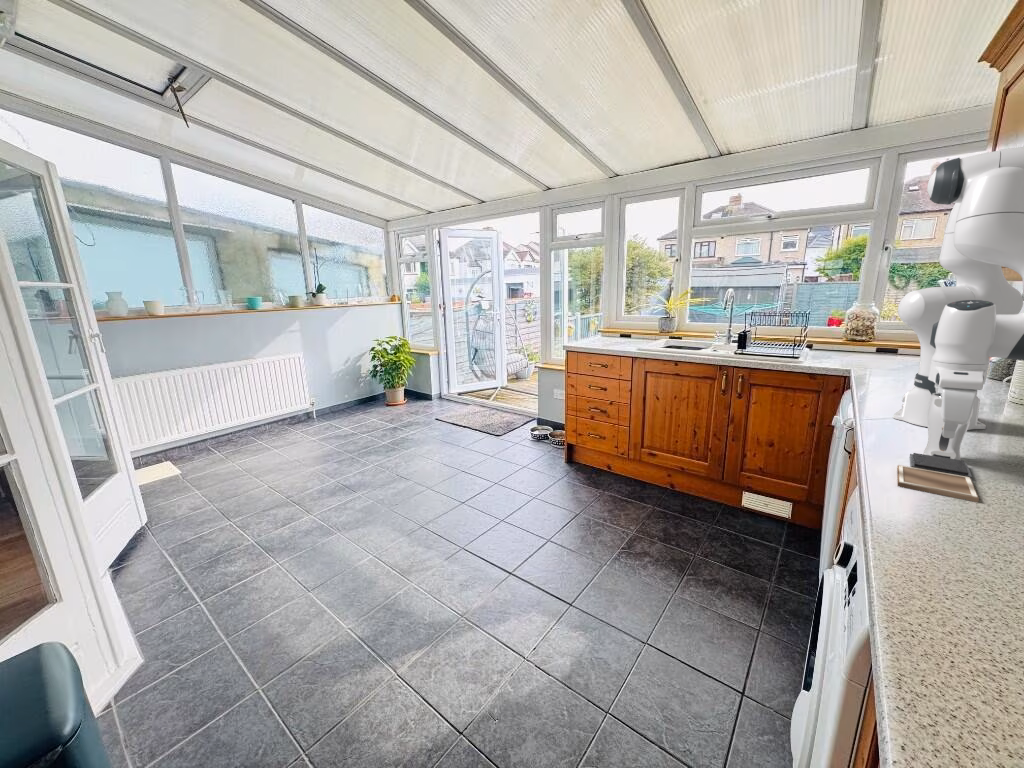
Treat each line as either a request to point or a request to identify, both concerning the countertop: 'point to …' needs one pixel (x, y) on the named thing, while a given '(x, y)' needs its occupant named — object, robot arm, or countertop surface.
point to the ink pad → (940, 464)
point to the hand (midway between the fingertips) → (946, 432)
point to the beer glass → (935, 428)
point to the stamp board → (936, 482)
